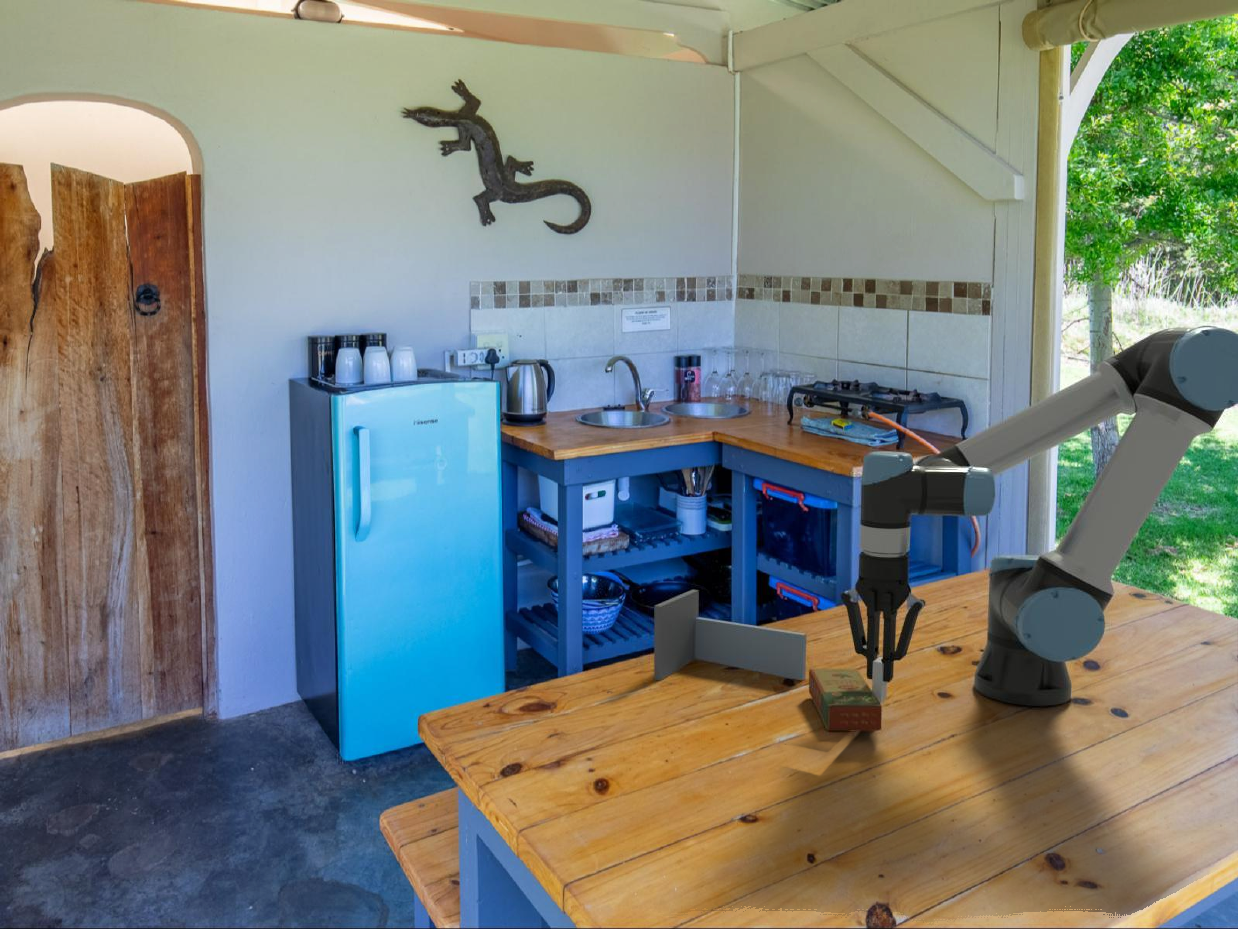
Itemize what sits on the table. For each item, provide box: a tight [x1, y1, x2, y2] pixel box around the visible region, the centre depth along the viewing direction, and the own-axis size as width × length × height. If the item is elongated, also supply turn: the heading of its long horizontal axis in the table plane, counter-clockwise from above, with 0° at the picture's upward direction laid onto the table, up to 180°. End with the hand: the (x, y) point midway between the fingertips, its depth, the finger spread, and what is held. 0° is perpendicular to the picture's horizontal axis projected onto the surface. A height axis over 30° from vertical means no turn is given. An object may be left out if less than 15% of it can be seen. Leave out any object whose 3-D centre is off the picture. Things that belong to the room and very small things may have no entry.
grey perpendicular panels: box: [653, 589, 807, 682], centre depth 181 cm, size 22×14×13 cm, turn 58°
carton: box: [808, 668, 883, 732], centre depth 165 cm, size 8×16×4 cm, turn 0°
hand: (878, 700), depth 165 cm, fingers closed
